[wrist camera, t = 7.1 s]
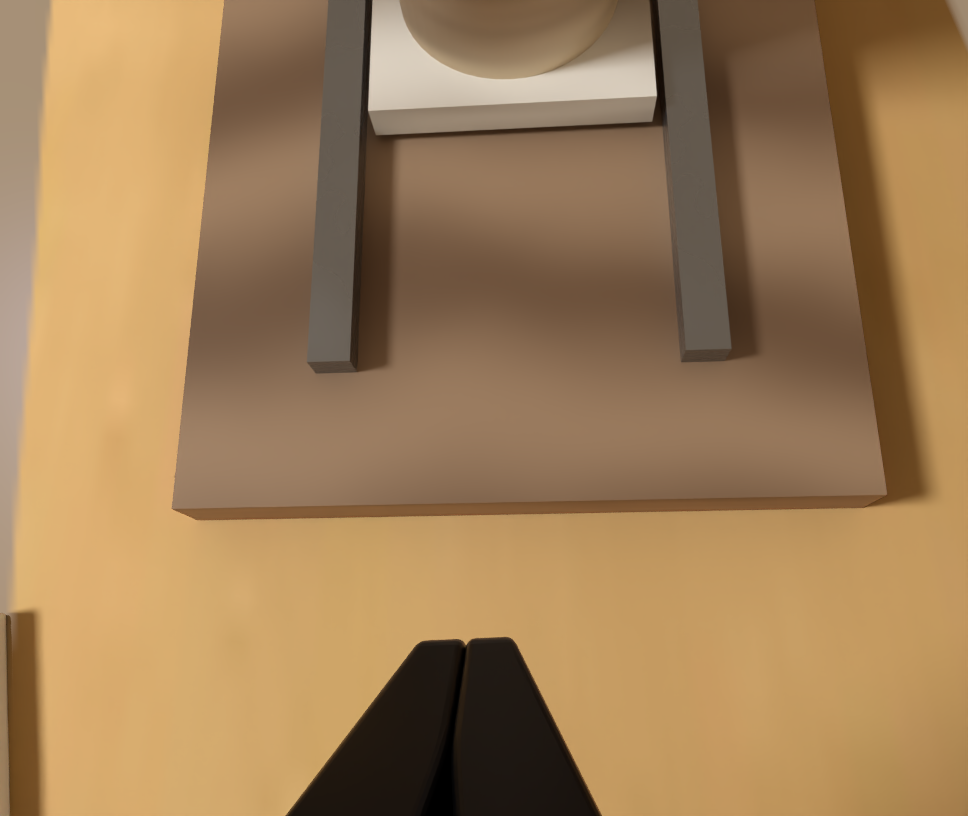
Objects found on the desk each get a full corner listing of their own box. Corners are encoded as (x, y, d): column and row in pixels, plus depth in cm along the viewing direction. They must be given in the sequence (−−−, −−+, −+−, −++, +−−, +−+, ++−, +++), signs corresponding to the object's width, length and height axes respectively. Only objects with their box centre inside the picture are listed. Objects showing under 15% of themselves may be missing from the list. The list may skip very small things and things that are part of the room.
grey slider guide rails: (777, 359, 20) (815, 306, 17) (266, 375, 21) (220, 326, 18) (715, -183, 25) (737, -295, 22) (305, -152, 26) (274, -257, 23)
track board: (863, 507, 20) (887, 494, 19) (197, 519, 21) (171, 508, 20) (766, -195, 27) (778, -244, 25) (260, -158, 28) (245, -203, 26)
